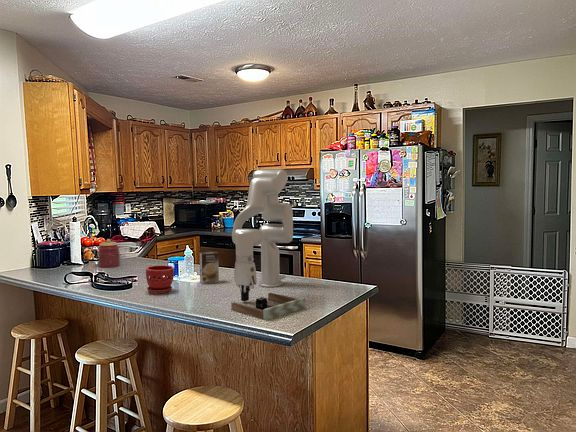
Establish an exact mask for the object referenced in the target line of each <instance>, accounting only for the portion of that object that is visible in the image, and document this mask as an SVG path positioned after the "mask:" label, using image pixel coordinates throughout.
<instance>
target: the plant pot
mask: <svg viewBox="0 0 576 432" xmlns="http://www.w3.org/2000/svg"><path fill="white" fill-rule="evenodd" d="M174 273H175V268H174V267H173V266H171V265H163V264H161V265H152V266H151V265H150V266H147V267H146V268H145V278H146V282H147V285H148V287H146V290H147V291H148V292H149V293H152V294H165V293H168V292H170V291H171V290H172V289H173V287H172V284H173V281H174V276H175V275H174Z"/></svg>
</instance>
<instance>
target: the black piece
mask: <svg viewBox="0 0 576 432" xmlns="http://www.w3.org/2000/svg"><path fill="white" fill-rule="evenodd" d="M267 298H268V297H267ZM267 298H266V297H263V296H262V297H258V298H256V299H255V307H254V308H257V309H261V310H263V309H266V308H269V307H273V306H274V305H270V304H269V305H268V299H267Z"/></svg>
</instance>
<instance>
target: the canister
mask: <svg viewBox="0 0 576 432" xmlns="http://www.w3.org/2000/svg"><path fill="white" fill-rule="evenodd" d="M98 246H99V247H97V249H98V252H97V256H98V262H97V263H98V267H99V268H105V269H107V268H108V269H109V268H115V267H119V266H120V264H121V262H120V253H121V252H120V246H119V243H118V242H116V241H112V240H111V239H110V238H107V239H106V241H103V242H101V243H99V245H98Z"/></svg>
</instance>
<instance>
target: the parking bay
mask: <svg viewBox="0 0 576 432" xmlns="http://www.w3.org/2000/svg"><path fill="white" fill-rule="evenodd" d="M267 296H268V297H267V298H268V299H267V301H271V302H275V303H278V304H277V305H272V306H273V307H269V308H266V309H263V310H261V309H257V308H255V307H253V306H250V305H249V306H248V305H246V304H242V303H238V302H235V301H234V302H231V305H230V306H231V307H230V308H231V311H234V312H235V313H236V312H237V313H240V314H243V315H247V316H249V317H254V318H258V319H260V320H264V321H269V320H272V319H274V318H278V317H280V316H283V315H287V314H291V313H292V312H296V311H299V310H302V309H305V308H306V298H305V297H300V298H295V297H290V296H286V295H282V294H277V293H275V292H268V294H267Z"/></svg>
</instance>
